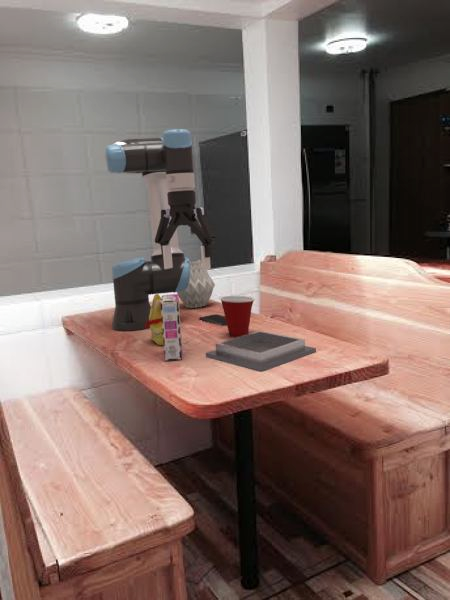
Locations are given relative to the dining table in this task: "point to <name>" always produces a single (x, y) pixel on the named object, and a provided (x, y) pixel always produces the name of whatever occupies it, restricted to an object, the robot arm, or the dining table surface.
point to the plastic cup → (237, 314)
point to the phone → (215, 319)
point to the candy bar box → (171, 327)
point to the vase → (197, 286)
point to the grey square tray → (260, 350)
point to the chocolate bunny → (156, 320)
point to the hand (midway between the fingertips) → (187, 269)
